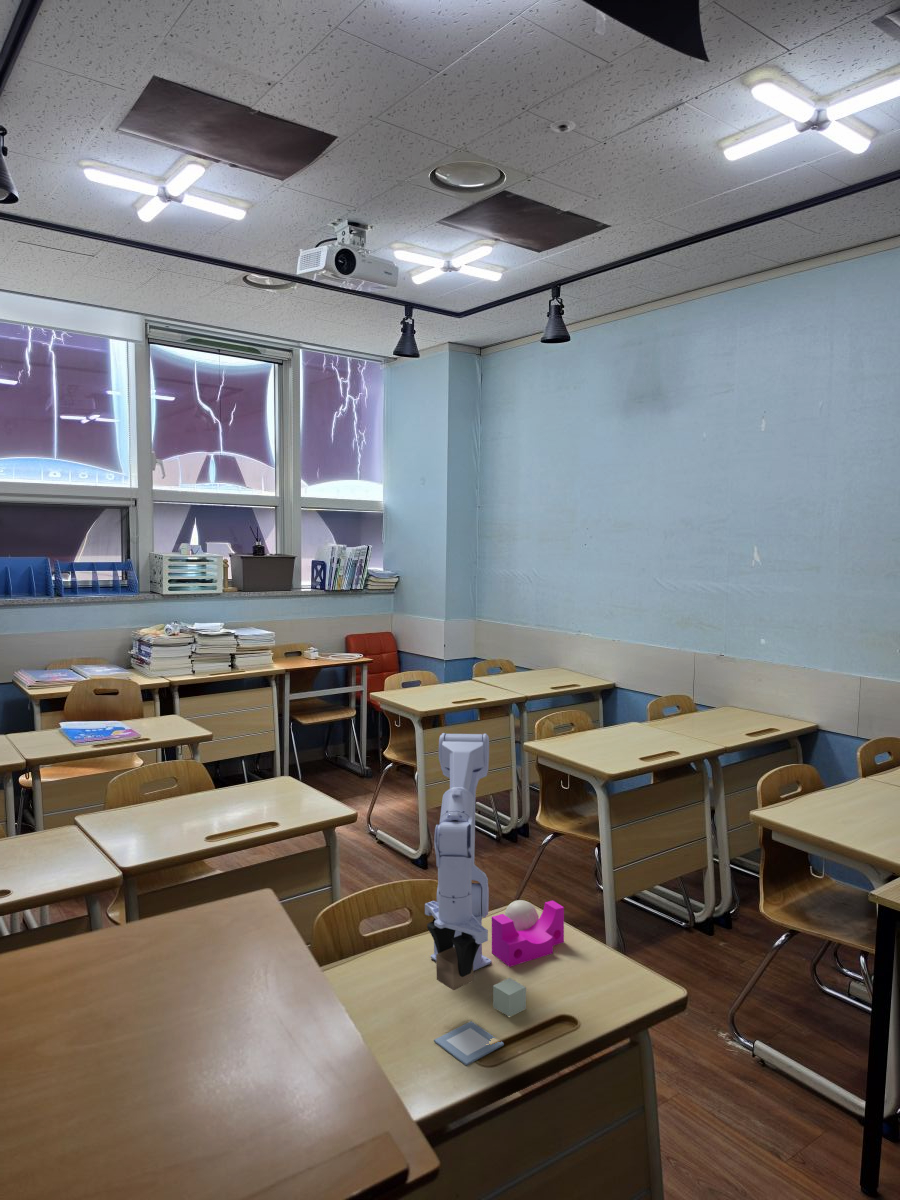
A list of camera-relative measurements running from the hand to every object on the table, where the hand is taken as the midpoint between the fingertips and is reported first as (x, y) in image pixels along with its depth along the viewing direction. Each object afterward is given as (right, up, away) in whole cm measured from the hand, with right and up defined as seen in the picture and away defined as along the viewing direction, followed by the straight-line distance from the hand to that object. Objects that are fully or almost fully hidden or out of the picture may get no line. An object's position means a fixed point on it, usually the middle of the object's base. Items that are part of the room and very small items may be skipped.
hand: (455, 968), depth 136 cm
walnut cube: (0, -2, 0) cm, 2 cm away
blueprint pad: (+2, -8, -8) cm, 12 cm away
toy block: (+15, -7, +22) cm, 28 cm away
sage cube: (+9, -8, +2) cm, 12 cm away
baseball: (+14, -6, +29) cm, 33 cm away
